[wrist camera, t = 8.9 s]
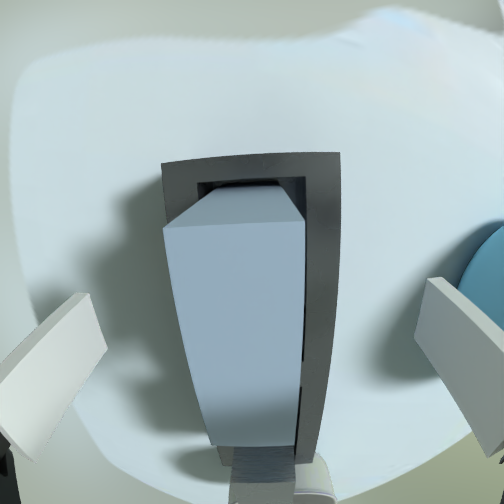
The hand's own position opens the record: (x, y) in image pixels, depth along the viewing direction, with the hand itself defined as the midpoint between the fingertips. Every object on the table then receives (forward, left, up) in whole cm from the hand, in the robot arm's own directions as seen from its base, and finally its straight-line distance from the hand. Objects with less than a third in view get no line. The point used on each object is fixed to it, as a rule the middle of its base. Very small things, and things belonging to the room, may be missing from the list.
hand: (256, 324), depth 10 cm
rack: (+6, 0, -8) cm, 10 cm away
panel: (0, 0, -7) cm, 7 cm away
